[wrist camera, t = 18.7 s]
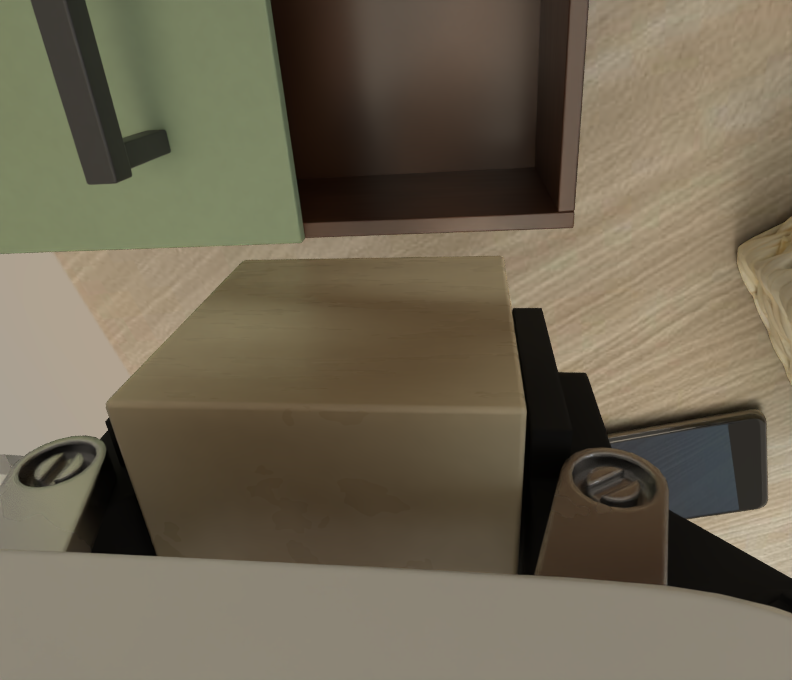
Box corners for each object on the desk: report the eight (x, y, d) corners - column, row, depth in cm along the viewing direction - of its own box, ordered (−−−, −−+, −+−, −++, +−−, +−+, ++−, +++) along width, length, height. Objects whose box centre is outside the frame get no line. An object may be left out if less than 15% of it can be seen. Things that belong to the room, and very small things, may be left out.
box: (247, 190, 31) (175, 243, 23) (188, -125, 25) (65, -195, 17) (545, 176, 29) (573, 228, 21) (560, -170, 23) (608, -270, 15)
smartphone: (770, 509, 35) (506, 547, 39) (762, 497, 36) (504, 535, 40) (768, 411, 32) (481, 461, 36) (759, 400, 33) (480, 450, 36)
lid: (-52, 251, 24) (-156, 295, 20) (-230, -154, 18) (-427, -206, 14) (305, 238, 22) (270, 284, 18) (239, -219, 16) (164, -302, 12)
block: (280, 462, 14) (191, 666, 9) (243, 258, 11) (100, 403, 7) (497, 467, 13) (511, 689, 9) (504, 254, 11) (528, 409, 6)
